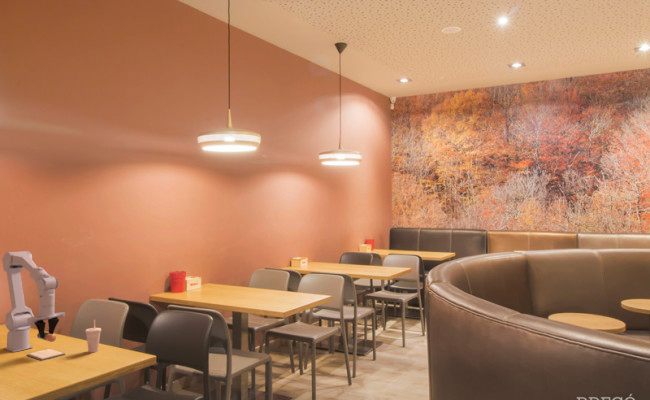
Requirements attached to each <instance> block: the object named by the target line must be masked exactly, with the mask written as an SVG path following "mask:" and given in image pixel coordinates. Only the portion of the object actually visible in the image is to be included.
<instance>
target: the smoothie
mask: <svg viewBox="0 0 650 400" xmlns="http://www.w3.org/2000/svg"><path fill="white" fill-rule="evenodd" d="M84 332H85V334H86V335H85V336H86V341H87V342H86V343H87V344H86V345H87V350H88V353H91V354H93V353H97V352H98V351H99V347H100V346H99V345H100V340H101V339H100V338H101V332H102V327H96V319H93V327H91V328H87V329H85V331H84Z"/></svg>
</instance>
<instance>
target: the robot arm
mask: <svg viewBox="0 0 650 400" xmlns="http://www.w3.org/2000/svg"><path fill="white" fill-rule="evenodd" d="M1 260H2V268H3V271H4V272H5V273H6V276H7V277H6V278H7V283H8V284H7V285H8V291H9V298H10V299H9V300H10V305H11V309H10V310H9V311H8V312H6V314H5V322H4V325H5V327H6V329H7V330H8V332H7V334H6V347H4V350H7V351H9V352H13V353H16V352H19V351H23V350H29V349H33V348H34V346H33V345H30V329H31V328H32V326H33V325H35V327H36V328H37V331H38V333H39V334H40V338H44V332H45V329H46V324H47V323H48V333H50V334H53V335H54V334H55V333H54V332H55V330H56V327H57V325H58V323H59V321H60V319H59V318H65V317H66V312H64V311H62V312H55V311H56V310H55V309H56V306H55V304H56V303H55V301H56V297H55V296H56V289H57V288H58V285H59V282H58V281H59V280H58V278H57V276H56V275H55V276H54V275H53V276H52V275H50V274H49V273H48V272H47V271H46V270H45V269H44V268H43V266H42V267H41V266H38V265H36V263H35V262H34V261H33V254H32V253H31V252H30V251H29V250H24V251H23V250H22V251H6V252H5V253H4V254H3V256H2V258H1ZM24 270H26V271H28V272H29V277H30V278H31V280H33V282H34V283H35V284H36V286H35V287H36V290H37V295H38V296H39V297H38V298H39V299H38V300H39V301H38V303H39V304H38V307H39V308H38V315H34V313H33V311H32V308H30V307H29V306H26V302H25V296H24V288H23V282H22V275H21V273H22V271H24ZM45 321H47V323H46V322H45ZM40 338H39V339H40Z"/></svg>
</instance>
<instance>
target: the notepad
mask: <svg viewBox="0 0 650 400" xmlns="http://www.w3.org/2000/svg"><path fill="white" fill-rule="evenodd" d="M26 356H28V357H30V358H32V359H36V360H39V361H46V360H51V359H54V358H57V357H62V356H66V353H64V352H61V351H58V350H56V349H52V348H47V349H43V350H39V351H34V352H30V353H28V354H26Z"/></svg>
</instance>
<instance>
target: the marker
mask: <svg viewBox="0 0 650 400" xmlns="http://www.w3.org/2000/svg"><path fill="white" fill-rule="evenodd" d="M37 338H38V339H41V340H44V341H46V342H50V343H52V342H54V341H56V339H57V335H55V334H54V333H53V334H50V333H49V332H45V331H44V338H40V334H39V332H38V333H37Z"/></svg>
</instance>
